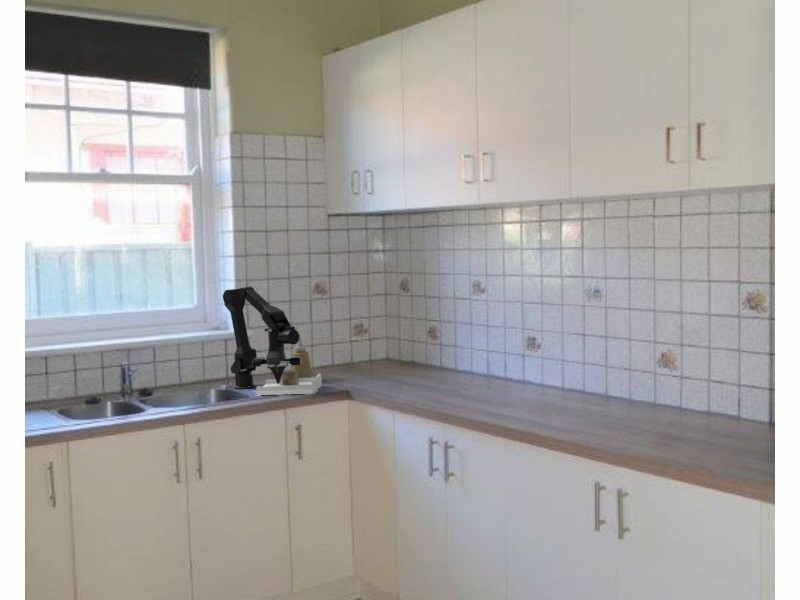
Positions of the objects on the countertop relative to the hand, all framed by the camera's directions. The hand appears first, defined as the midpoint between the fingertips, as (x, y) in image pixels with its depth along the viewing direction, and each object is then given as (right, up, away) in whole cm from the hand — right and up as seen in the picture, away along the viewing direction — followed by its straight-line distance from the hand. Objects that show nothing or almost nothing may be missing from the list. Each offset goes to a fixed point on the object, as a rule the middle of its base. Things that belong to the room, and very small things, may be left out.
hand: (278, 383), depth 332 cm
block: (+5, -1, 0) cm, 5 cm away
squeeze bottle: (+7, -1, +19) cm, 21 cm away
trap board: (+5, -3, 0) cm, 5 cm away
